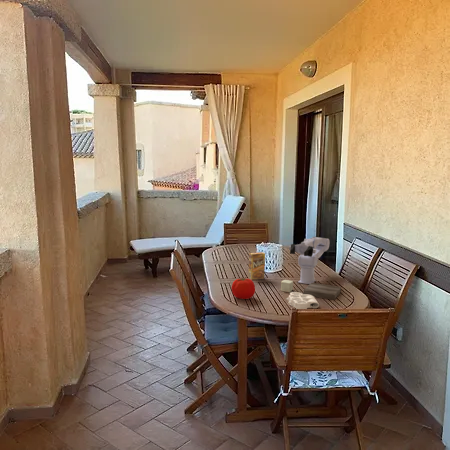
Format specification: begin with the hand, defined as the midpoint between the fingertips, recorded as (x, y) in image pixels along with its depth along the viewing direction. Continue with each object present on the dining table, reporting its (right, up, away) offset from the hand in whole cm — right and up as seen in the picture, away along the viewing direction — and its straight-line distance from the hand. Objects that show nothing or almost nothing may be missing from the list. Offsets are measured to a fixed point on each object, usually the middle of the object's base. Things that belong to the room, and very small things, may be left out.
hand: (297, 253), depth 215 cm
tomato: (-29, -22, -11) cm, 38 cm away
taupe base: (+13, -21, 0) cm, 25 cm away
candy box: (-20, -17, +26) cm, 37 cm away
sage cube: (-5, -20, +4) cm, 21 cm away
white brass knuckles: (-1, -24, -17) cm, 29 cm away
